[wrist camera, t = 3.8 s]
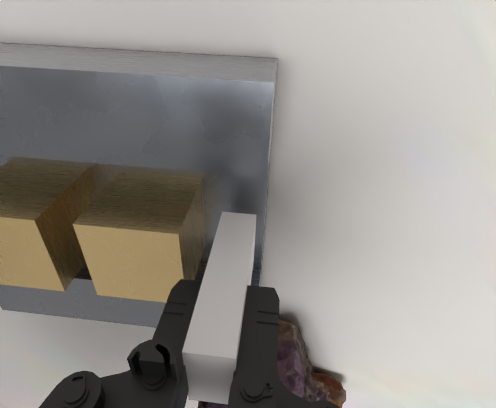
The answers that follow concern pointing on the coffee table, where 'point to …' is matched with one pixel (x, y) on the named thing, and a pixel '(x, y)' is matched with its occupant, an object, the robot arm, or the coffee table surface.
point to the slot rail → (138, 141)
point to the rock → (298, 371)
